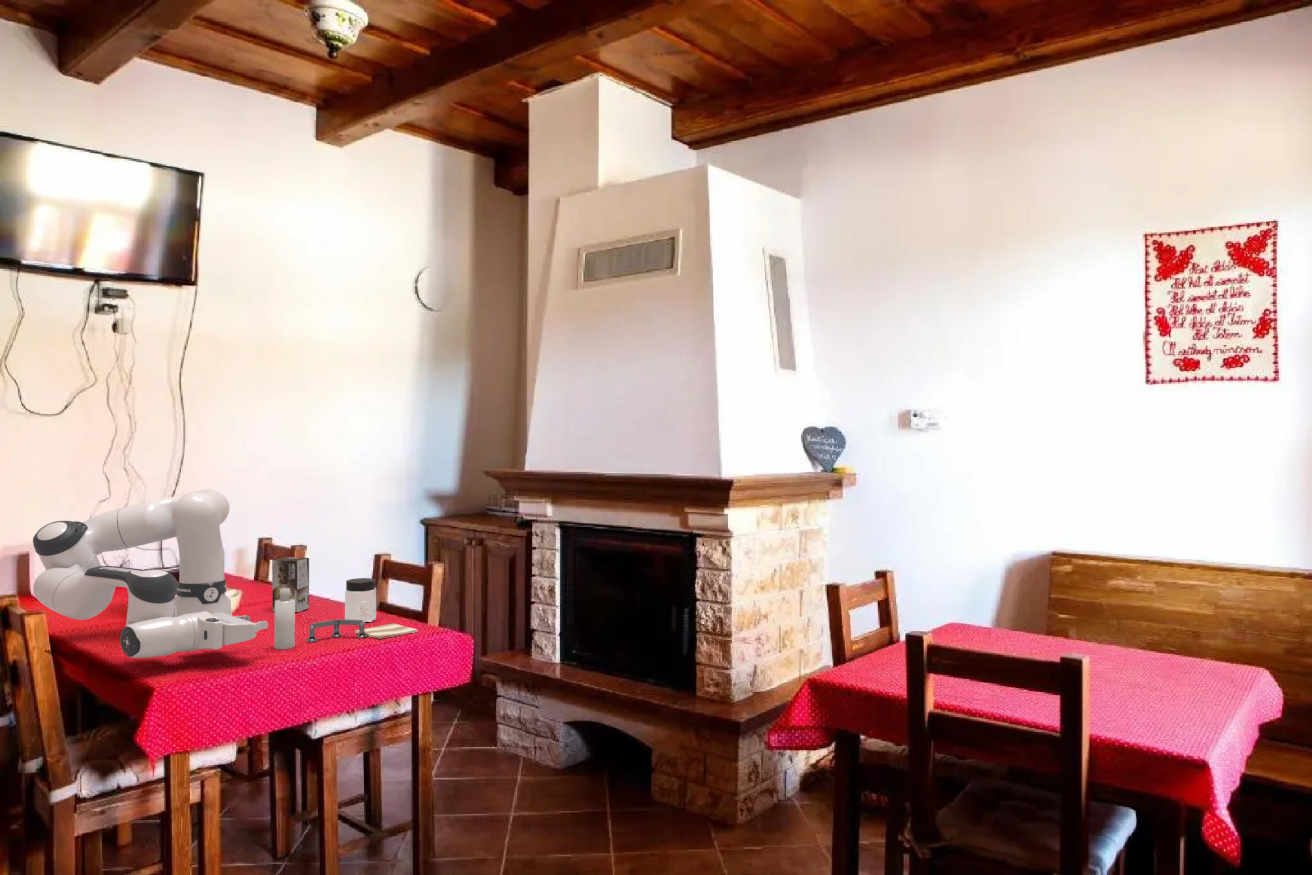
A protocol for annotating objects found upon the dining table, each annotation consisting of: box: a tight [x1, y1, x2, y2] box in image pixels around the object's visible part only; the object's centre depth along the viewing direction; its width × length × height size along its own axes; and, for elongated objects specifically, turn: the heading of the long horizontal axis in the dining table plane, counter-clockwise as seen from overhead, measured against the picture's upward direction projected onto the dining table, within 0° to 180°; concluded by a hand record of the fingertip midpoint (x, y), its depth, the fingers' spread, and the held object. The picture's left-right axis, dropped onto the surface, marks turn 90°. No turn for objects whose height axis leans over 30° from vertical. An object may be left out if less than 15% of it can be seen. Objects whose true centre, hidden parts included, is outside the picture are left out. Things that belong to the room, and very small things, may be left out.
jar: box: [344, 577, 377, 623], centre depth 260 cm, size 9×8×12 cm
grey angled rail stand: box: [306, 618, 368, 643], centre depth 237 cm, size 9×14×5 cm, turn 139°
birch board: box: [354, 623, 419, 639], centre depth 245 cm, size 12×12×1 cm
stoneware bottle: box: [274, 588, 296, 650], centre depth 228 cm, size 5×5×15 cm
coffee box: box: [271, 556, 310, 613], centre depth 275 cm, size 9×6×16 cm
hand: (257, 621), depth 222 cm, fingers open, 8 cm apart
